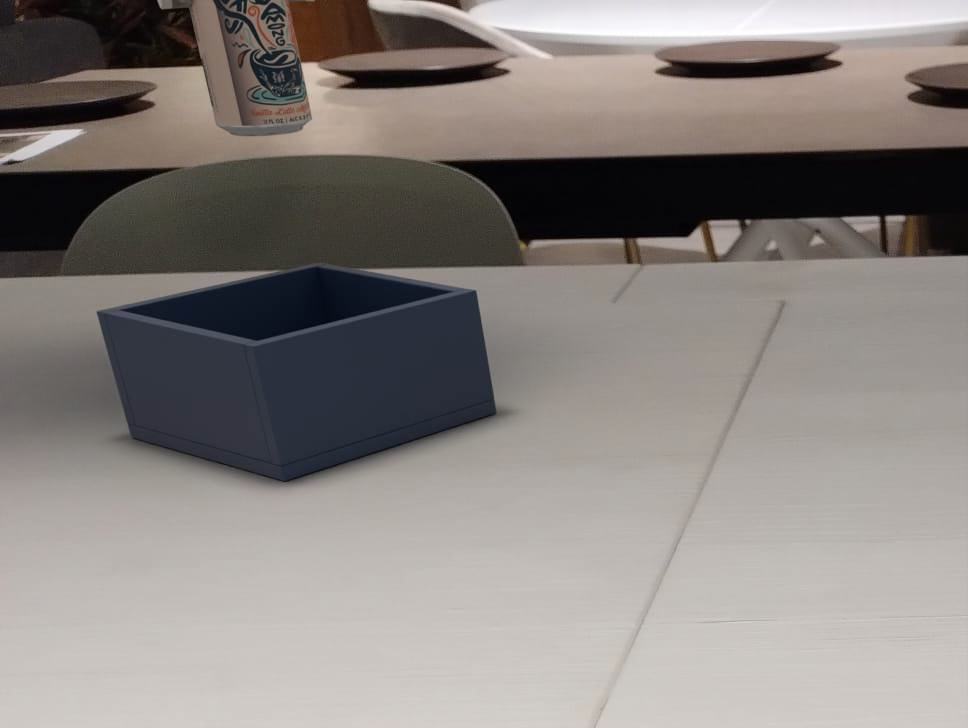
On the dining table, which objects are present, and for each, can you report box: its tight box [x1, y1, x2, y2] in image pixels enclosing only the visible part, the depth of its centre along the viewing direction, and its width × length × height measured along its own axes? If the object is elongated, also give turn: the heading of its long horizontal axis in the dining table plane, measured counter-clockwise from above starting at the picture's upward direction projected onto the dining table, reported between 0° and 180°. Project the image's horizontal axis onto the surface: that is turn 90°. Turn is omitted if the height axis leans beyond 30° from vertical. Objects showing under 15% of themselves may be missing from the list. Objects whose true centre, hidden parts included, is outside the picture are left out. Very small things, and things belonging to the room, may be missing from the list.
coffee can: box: [188, 0, 313, 137], centre depth 86 cm, size 5×5×12 cm
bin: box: [96, 262, 497, 482], centre depth 91 cm, size 14×14×7 cm
